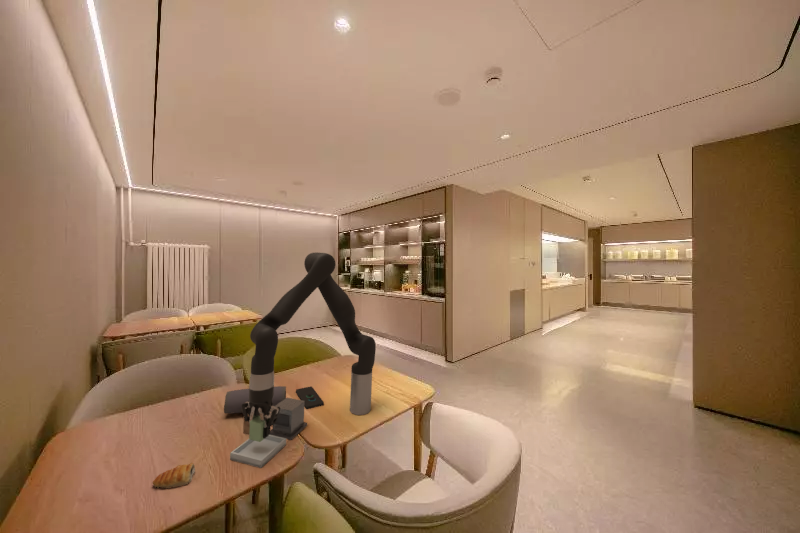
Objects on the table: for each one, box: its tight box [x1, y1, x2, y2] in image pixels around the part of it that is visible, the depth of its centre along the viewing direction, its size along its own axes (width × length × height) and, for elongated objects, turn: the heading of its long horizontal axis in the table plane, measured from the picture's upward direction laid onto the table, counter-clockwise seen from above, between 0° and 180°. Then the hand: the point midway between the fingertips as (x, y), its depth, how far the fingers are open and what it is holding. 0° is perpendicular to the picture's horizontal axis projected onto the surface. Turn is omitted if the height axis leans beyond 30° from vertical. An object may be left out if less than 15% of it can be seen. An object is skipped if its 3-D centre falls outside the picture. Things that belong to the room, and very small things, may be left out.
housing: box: [270, 397, 308, 441], centre depth 109 cm, size 10×10×10 cm
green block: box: [248, 416, 268, 442], centre depth 96 cm, size 4×4×6 cm
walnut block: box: [242, 414, 250, 435], centre depth 107 cm, size 4×4×6 cm
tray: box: [229, 435, 287, 469], centre depth 96 cm, size 12×12×2 cm
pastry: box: [152, 462, 196, 489], centre depth 82 cm, size 9×7×4 cm
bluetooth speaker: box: [223, 385, 287, 415], centre depth 121 cm, size 23×9×10 cm, turn 108°
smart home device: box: [295, 386, 324, 410], centre depth 135 cm, size 8×2×20 cm
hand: (259, 435), depth 96 cm, fingers closed on green block, 4 cm apart
